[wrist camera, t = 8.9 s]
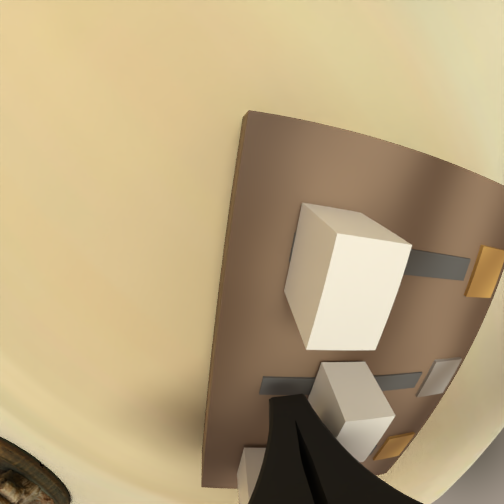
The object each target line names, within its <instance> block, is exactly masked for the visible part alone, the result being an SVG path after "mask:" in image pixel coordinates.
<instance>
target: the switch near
mask: <svg viewBox="0 0 504 504" xmlns="http://www.w3.org/2000/svg"><path fill="white" fill-rule="evenodd" d="M411 247H412V245H411V244H410V243H408V242H407V241H405V240H404V239H402V238H401V237H399V236H398V235H396V234H394V233H393V232H391V231H390V230H388V229H387V228H385V227H383V226H382V225H380V224H378V223H377V222H375V221H374V220H372V219H370V218H369V217H367V216H365V215H364V214H362V213H360V212H355V211H350V210H344V209H338V208H332V207H326V206H320V205H314V204H308V203H302V205H301V211H300V216H299V221H298V226H297V231H296V236H295V241H294V246H293V251H292V256H291V261H290V265H289V270H288V275H287V280H286V284H285V289H284V292H285V295H286V298H287V300H288V303H289V305H290V308H291V311H292V313H293V316H294V319H295V321H296V324H297V327H298V329H299V332H300V335H301V337H302V340H303V343H304V345H305V348H306V350H375V349H376V347H377V345H378V342H379V340H380V337H381V335H382V332H383V330H384V327H385V325H386V322H387V319H388V317H389V314H390V311H391V309H392V306H393V303H394V300H395V297H396V295H397V292H398V289H399V286H400V283H401V280H402V277H403V274H404V270H405V267H406V264H407V261H408V257H409V254H410V251H411Z"/></svg>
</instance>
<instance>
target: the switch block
mask: <svg viewBox="0 0 504 504" xmlns="http://www.w3.org/2000/svg"><path fill="white" fill-rule="evenodd" d="M302 203H308V204H314V205H320V206H326V207H332V208H338V209H344V210H350V211H355V212H360V213H362V214H364V215H365V216H367V217H369V218H370V219H372V220H374V221H375V222H377V223H378V224H380V225H382V226H383V227H385V228H387V229H388V230H390V231H391V232H393V233H394V234H396V235H398V236H399V237H401V238H402V239H404V240H405V241H407V242H408V243H410V244H411V245H412V247H411V251H410V254H409V257H408V261H407V264H406V267H405V270H404V274H403V277H402V280H401V283H400V286H399V289H398V292H397V295H396V297H395V300H394V303H393V306H392V309H391V311H390V314H389V317H388V319H387V322H386V325H385V327H384V330H383V332H382V335H381V337H380V340H379V342H378V345H377V347H376V349H375V350H306V348H305V345H304V343H303V340H302V337H301V335H300V332H299V329H298V327H297V324H296V321H295V319H294V316H293V313H292V311H291V308H290V305H289V303H288V300H287V298H286V295H285V292H284V289H285V284H286V280H287V275H288V270H289V265H290V261H291V256H292V251H293V246H294V241H295V236H296V231H297V226H298V221H299V216H300V211H301V205H302ZM503 269H504V185H501V184H499V183H497V182H495V181H493V180H490V179H488V178H486V177H484V176H481V175H479V174H477V173H474V172H472V171H470V170H467V169H465V168H462V167H460V166H457V165H455V164H452V163H449V162H447V161H444V160H441V159H439V158H436V157H433V156H430V155H428V154H425V153H422V152H419V151H416V150H413V149H410V148H407V147H404V146H401V145H398V144H394V143H391V142H388V141H385V140H381V139H378V138H374V137H371V136H367V135H364V134H360V133H356V132H352V131H348V130H345V129H341V128H336V127H332V126H328V125H324V124H319V123H315V122H310V121H305V120H301V119H296V118H291V117H285V116H280V115H274V114H269V113H263V112H256V111H250V110H249V111H248V112H247V113H246V114H245V116H244V117H243V120H242V127H241V133H240V140H239V146H238V153H237V159H236V166H235V173H234V180H233V187H232V194H231V201H230V208H229V215H228V222H227V230H226V237H225V245H224V252H223V260H222V268H221V276H220V284H219V292H218V301H217V309H216V318H215V326H214V335H213V344H212V354H211V363H210V373H209V382H208V392H207V403H206V413H205V424H204V435H203V447H202V487H210V488H234V489H238V482H237V472H238V468H239V465H240V461H241V457H242V453H243V450H244V447H245V448H266V446H267V440H268V433H269V399H270V398H272V397H279V396H287V395H295V394H304V395H305V396H306V398H307V400H308V398H309V395H310V392H311V390H312V387H313V384H314V382H315V379H316V376H317V373H318V371H319V368H320V365H321V362H366V364H367V366H368V367H369V369H370V371H371V373H372V374H373V376H374V378H375V380H376V381H377V383H378V385H379V387H380V388H381V390H382V392H383V394H384V396H385V397H386V399H387V401H388V403H389V405H390V406H391V408H392V410H393V412H394V414H395V415H396V416H395V417H394V419H393V420H392V422H391V423H390V425H389V427H388V428H387V430H386V431H385V433H384V434H383V436H382V437H381V439H380V440H379V441H378V443H377V444H376V446H375V447H374V449H373V450H372V451H371V453H370V454H369V456H368V457H367V458H366V460H365V461H364V462H360V463H361V464H362V465H363V466H364V467H365V468H367V469H368V470H369V471H370V472H372V473H373V474H374V475H380V474H384V473H387V471H388V470H389V469H390V468H391V467H392V466H393V464H394V463H395V462H396V461H397V460H398V458H399V457H400V456H401V455H402V453H403V452H404V451H405V450H406V448H407V447H408V446H409V444H410V443H411V442H412V440H413V439H414V438H415V436H416V435H417V434H418V432H419V431H420V430H421V428H422V427H423V425H424V424H425V422H426V421H427V420H428V418H429V417H430V415H431V414H432V412H433V411H434V409H435V408H436V406H437V405H438V403H439V402H440V400H441V398H442V397H443V395H444V394H445V392H446V390H447V389H448V387H449V385H450V384H451V382H452V380H453V379H454V377H455V375H456V373H457V372H458V370H459V368H460V366H461V364H462V363H463V361H464V359H465V357H466V355H467V353H468V351H469V349H470V347H471V345H472V343H473V341H474V339H475V337H476V335H477V333H478V331H479V329H480V327H481V324H482V322H483V320H484V318H485V315H486V313H487V311H488V308H489V306H490V304H491V301H492V299H493V296H494V294H495V291H496V289H497V286H498V283H499V281H500V278H501V275H502V272H503Z"/></svg>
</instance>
